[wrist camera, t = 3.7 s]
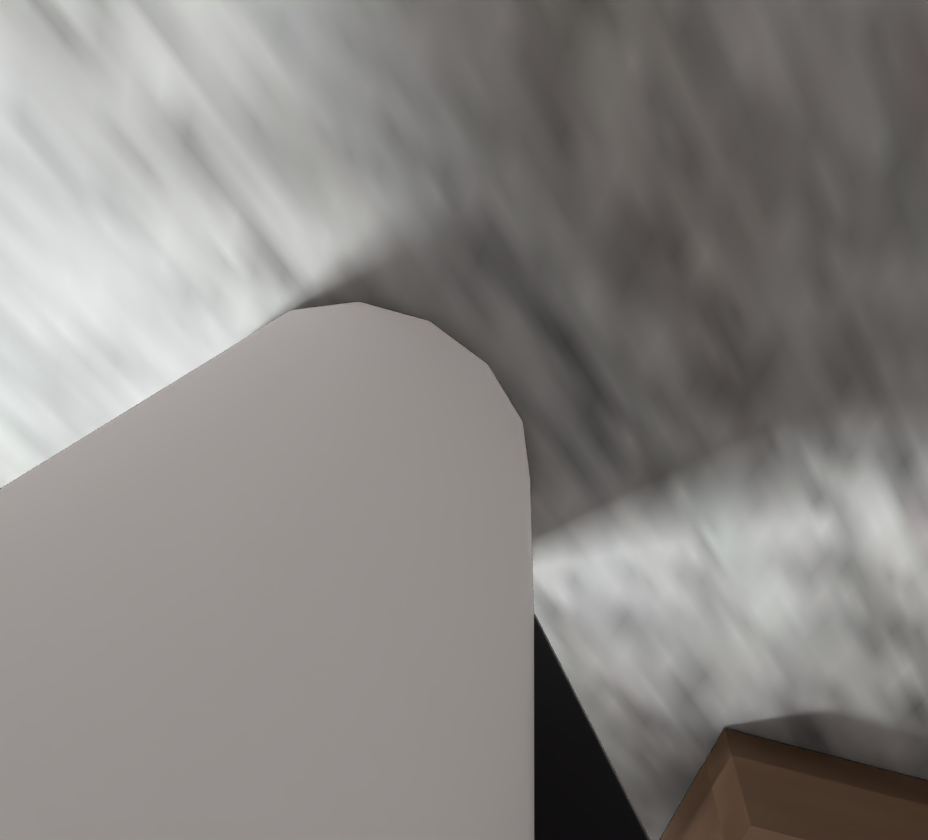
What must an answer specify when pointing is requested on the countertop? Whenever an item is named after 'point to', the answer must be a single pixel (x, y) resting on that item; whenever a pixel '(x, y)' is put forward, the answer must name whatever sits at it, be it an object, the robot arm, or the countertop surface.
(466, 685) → the white cylinder
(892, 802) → the walnut tray
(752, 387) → the countertop surface
